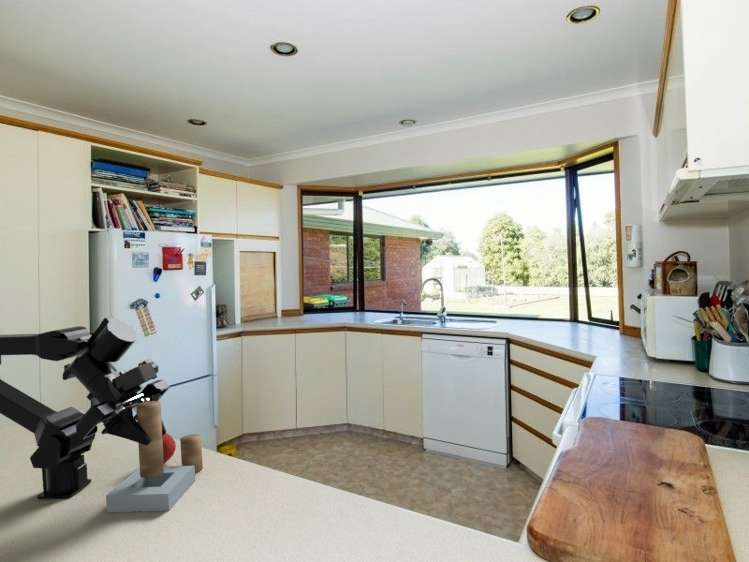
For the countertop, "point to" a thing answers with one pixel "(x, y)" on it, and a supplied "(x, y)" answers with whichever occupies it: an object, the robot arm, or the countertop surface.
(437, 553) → the countertop surface
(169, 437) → the onion
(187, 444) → the walnut peg short
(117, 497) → the collar block
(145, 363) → the robot arm
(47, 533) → the countertop surface
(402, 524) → the countertop surface
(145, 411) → the walnut peg long
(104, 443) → the countertop surface
